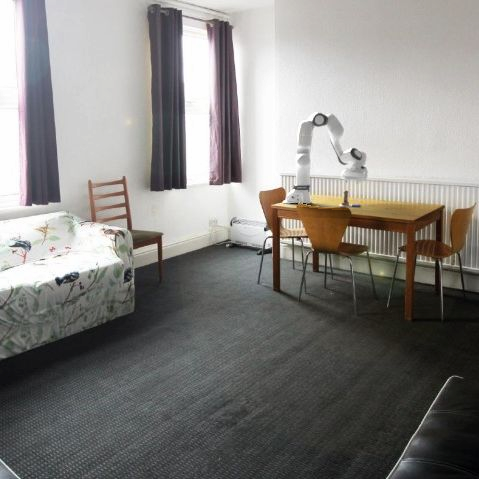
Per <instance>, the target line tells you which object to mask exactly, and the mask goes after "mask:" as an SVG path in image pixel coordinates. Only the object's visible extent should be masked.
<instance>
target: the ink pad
mask: <svg viewBox="0 0 479 479" xmlns="http://www.w3.org/2000/svg"><path fill="white" fill-rule="evenodd" d="M351 205H352V206H351V208H360V206H361V203H352V204H351Z"/></svg>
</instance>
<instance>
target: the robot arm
mask: <svg viewBox="0 0 479 479" xmlns="http://www.w3.org/2000/svg"><path fill="white" fill-rule="evenodd" d="M323 126H324V127H325V129H326V130H327V131H328V134H329V136H330V138H329V140H330V142H331V145H332V148H333V150H334V152H335V154H336V158H337V161H338V163H340V164H341V165H343V166H347V165H348V164H350V163H352V164H351V168H344V169H343V170H342V171H341V174H340V178H341V179H342V180H344V184H347V183H348V180H353V181H354V180H355V181H356V185H359V183H360V182H361V181H366V180H367V178H368V173H369V172H368V168H367V167H366V166H365V165H366V161H367V153H366V152H364V151H362V150H360V151H359V149H357V148H356V147H352V148H350V149H349V148H348V149H347V150H346V151H344V150H343V148H342V146H341V144H340V139H341V137H342V136H343V134H344V130H345V129H344V126H343V125H342V122H340V120H339V119H338V117H336V116H335V114H334V113H329V114H325V113H324V114H323V113H322V112H317V111H316V112H313V113H311V114H310V115H309V116H308V118H307V120H302V121H300V123H299V126H298V133H297V139H296V140H297V142H296V143H297V144H296V152H295V184H294V185H293V186H292V190H291V191H290V192H288V193H287V194H286V196H285V200H283V201H282V203H283V204H290V203H299V202H300V203H306V204H312V199H311V184H310V183H311V182H310V181H311V180H310V179H311V150H312V143H313V131H314V129H315V128H321V127H323Z"/></svg>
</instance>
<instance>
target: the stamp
mask: <svg viewBox="0 0 479 479" xmlns="http://www.w3.org/2000/svg"><path fill="white" fill-rule="evenodd" d="M348 195H349V190H347V189H345V190H344V191H343V201H342V203H341V204H342V206H341V207H348V205H349V203H350V201H348V200H349V199H348V198H349V196H348Z"/></svg>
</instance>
